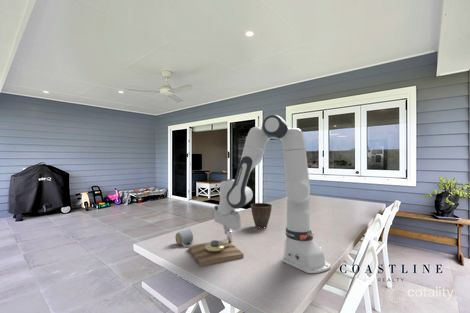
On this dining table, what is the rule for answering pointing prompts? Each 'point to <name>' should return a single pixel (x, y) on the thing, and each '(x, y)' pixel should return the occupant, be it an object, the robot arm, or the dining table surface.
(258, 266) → the dining table surface
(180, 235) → the ceramic mug
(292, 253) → the robot arm
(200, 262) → the brown flat wooden board
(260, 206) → the plant pot
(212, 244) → the brass and silver crank
